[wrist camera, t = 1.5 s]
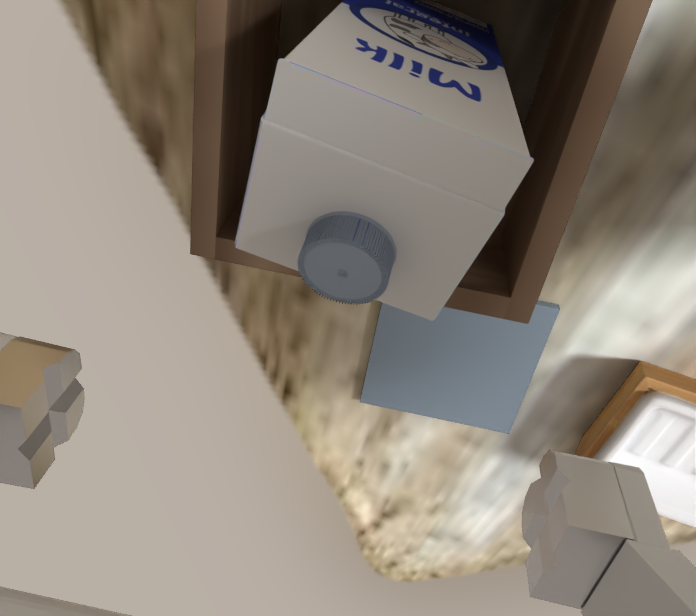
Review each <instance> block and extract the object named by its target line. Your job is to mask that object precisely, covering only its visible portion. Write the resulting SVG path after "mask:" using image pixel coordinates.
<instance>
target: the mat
mask: <svg viewBox="0 0 696 616" xmlns="http://www.w3.org/2000/svg"><path fill="white" fill-rule="evenodd" d="M559 310H560V307H559V305H556V304H552V303H547V302H542V301H537V303H536V306H535V308H534V311H533V313H532V316H531V319H530V321H529V324H525V323H520V322H515V321H510V320H506V319H501V318H496V317H491V316H486V315H481V314H477V313H472V312H467V311H462V310H457V309H452V308H448V307H443V308H442V310H441V311H440V313H439V314H438V316H437V317H436V319H435V320H433V321H431V320H428V319H425V318H423V317H420V316H417V315H415V314H412V313H409V312H406V311H404V310H401V309H398V308H396V307H393V306H390V305H388V304H385V303H382V304H381V309H380V313H379V318H378V322H377V327H376V331H375V336H374V340H373V345H372V349H371V354H370V358H369V362H368V367H367V371H366V376H365V380H364V385H363V389H362V394H361V398H360V402H362V403H366V404H371V405H376V406H380V407H385V408H390V409H395V410H399V411H404V412H409V413H413V414H418V415H423V416H428V417H432V418H437V419H442V420H446V421H451V422H456V423H460V424H465V425H470V426H475V427H479V428H484V429H489V430H493V431H498V432H503V433H508V434H509V432H510V430H511V427H512V425H513V422H514V420H515V418H516V415H517V413H518V410H519V408H520V405H521V403H522V400H523V398H524V396H525V393H526V391H527V388H528V386H529V383H530V381H531V379H532V376H533V374H534V371H535V369H536V366H537V364H538V362H539V359H540V357H541V354H542V352H543V349H544V347H545V344H546V342H547V340H548V337H549V335H550V332H551V330H552V327H553V325H554V323H555V320H556V318H557V315H558V313H559Z"/></svg>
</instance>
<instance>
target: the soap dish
mask: <svg viewBox="0 0 696 616" xmlns="http://www.w3.org/2000/svg"><path fill="white" fill-rule="evenodd" d="M575 455H577V456H582V457H587V458H592V459H597V460H602V461H606V462H614V463H619V464H624V465H629V466H635V467H639V468H640V469H641V470H642V471H643V472H644V475H645V478H646V480H647V483H648V486H649V489H650V492H651V495H652V498H653V501H654V503H655V506H656V509H657V512H658V515H661V516H664V517H666V518H670V519H672V520H675V521H678V522H681V523H684V524H687V525H690V526H692V527H695V528H696V380H695V379H692V378H689V377H687V376H684V375H681V374H678V373H675V372H672V371H669V370H666V369H663V368H661V367H658V366H655V365H652V364H649V363H646V362H643V361H640V362H639V363H638V365H637V366H636V367H635V368H634V370H633V371H632V372H631V374H630V375H629V376H628V378H627V379H626V380H625V382H624V383H623V384H622V386H621V387H620V388H619V390H618V391H617V392H616V394H615V395H614V396H613V397H612V399H611V400H610V401H609V403H608V404H607V405H606V407H605V408H604V409H603V411H602V412H601V413H600V415H599V416H598V417H597V419H596V420H595V421H594V423H593V424H592V425H591V427H590V428H589V429H588V431H587V432H586V433H585V434H584V435H583V437H582V439H581V440H580V443H579V445H578V448H577V450H576V453H575Z"/></svg>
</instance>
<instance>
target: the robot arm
mask: <svg viewBox="0 0 696 616" xmlns="http://www.w3.org/2000/svg"><path fill="white" fill-rule="evenodd" d="M81 369H82V366H81V359H80V353H78V352H77V351H76V350H74V349H70V348H66V347H62V346H58V345H53V344H49V343H45V342H41V341H36V340H32V339H28V338H24V337H16V336H12V335H8V334H4V333H0V483H5V484H10V485H15V486H21V487H26V488H31V489H35V487H36V486H37V484H38V483H39V481H40V480H41V479H42V477H43V476H44V474H45V473H46V471H47V470H48V468H49V467H50V466H51V464H52V463H53V462H54V460H55V454H54V447H56V446H58V445H60V444H62V443H64V442H66V441H68V440H69V439H70V437H71V436H72V434H73V433H74V431H75V430H76V428H77V426H78V423H79V421H80V418H81V415H82V413H83V406H84V388H83V387H82V386H81V384H80V383H79V382H78V381H77V379H76V378H75V377H76V375H77V374H78V373H79V372H80V370H81ZM539 467H540V474H541V478H540V479H538V480H537V481H535V482H533V483H531V485H530V487H529V489H528V492H527V494H526V497H525V501H524V506H523V511H522V532H523V539H524V540H525V541H526V542H527V544H528V545H529V546H530V548H531V551H530V553H529V555H528V557H527V559H526V568H527V576H528V584H529V592H530V597H533V598H537V599H541V600H545V601H549V602H553V603H557V604H561V605H566V606H569V607H573V608H578V609H582V611H581V613H582V614H583V616H696V567H695V566H694V565H693V564H692V563H691V562H690V561H689V560H688V559H687V558H686V557H685V556H684V555H683V554H682V553H681V552H680V551H677V550H674V549H670V547H669V544H668V541H667V538H666V535H665V532H664V529H663V527H662V524H661V521H660V518H659V515H658V512H657V509H656V506H655V503H654V501H653V498H652V495H651V492H650V489H649V486H648V483H647V480H646V478H645V475H644V472H643V471H642V470H641V469H640V468H639V467H635V466H629V465H624V464H619V463H614V462H606V461H602V460H597V459H592V458H587V457H582V456H577V455H572V454H567V453H562V452H558V451H553V450H549V451H548V452H547V453H546V454H545V455H544V457H543V459H542V461H541V463H540V465H539ZM0 616H131V615H126V614H121V613H117V612H113V611H108V610H103V609H99V608H95V607H90V606H86V605H81V604H77V603H72V602H68V601H63V600H59V599H54V598H50V597H45V596H41V595H36V594H31V593H27V592H22V591H18V590H13V589H9V588H4V587H0Z"/></svg>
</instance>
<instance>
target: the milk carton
mask: <svg viewBox="0 0 696 616" xmlns="http://www.w3.org/2000/svg"><path fill="white" fill-rule="evenodd" d="M533 162H534V159H533V158H532V157H530V155H529V151H528V148H527V144H526V141H525V137H524V134H523V131H522V127H521V124H520V120H519V117H518V113H517V110H516V107H515V103H514V100H513V96H512V93H511V89H510V86H509V83H508V79H507V76H506V72H505V69H504V65H503V62H502V59H501V55H500V52H499V48H498V45H497V42H496V38H495V35H494V31H493V28H492V25H491V24H488V23H486V22H484V21H481V20H479V19H476V18H474V17H471V16H469V15H467V14H464V13H462V12H459V11H457V10H454V9H452V8H449V7H447V6H445V5H442V4H440V3H437V2H435V1H432V0H343V1H342V2H341V3H340V4H339V5H338V6H337V7H336V8H335V9H334V10H333V11H332V12H331V13H330V14H329V15H328V16H327V17H326V18H325V19H324V20H323V21H322V22H321V23H320V24H319V25H318V26H317V27H316V28H315V29H314V30H313V31H312V32H311V33H310V34H309V35H308V36H307V37H306V38H305V39H304V40H303V41H302V42H301V43H299V44H298V45H297V46H296V47H295V48H294V49H293V50H292V51H291V52H290V53H289V54H288V55H287V56H286V57H285V58H284V59H282V58H280V59H279V60H278V63H277V67H276V71H275V76H274V80H273V84H272V89H271V93H270V97H269V101H268V106H267V109H266V111H265V112H264V114H263V116H262V117H261V121H260V126H259V130H258V135H257V140H256V145H255V149H254V154H253V159H252V163H251V168H250V173H249V178H248V182H247V187H246V192H245V197H244V201H243V206H242V211H241V216H240V220H239V225H238V230H237V235H236V239H235V247H236V248H237V249H240V250H243V251H246V252H248V253H251V254H254V255H256V256H259V257H262V258H264V259H267V260H270V261H272V262H275V263H278V264H280V265H283V266H286V267H288V268H291V269H294V270H296V271H299V273H301V274H300V276H302V277H301V278H303V280H305V281H304V282H306V284H308V286H310V288H312V290H314V292H315V291H317V293H319V295H320V294H322V296H323V295H324V296H325V297H328V298H330V301H331V299H333V301H334V300H336V302H337V301H339V303H340V302H342V304H343V302H345V304H346V303H348V304H349V303H350V304H352V303H353V304H355V303H356V305H357V304H358V303H359V304H360V303H362V304H363V302H364V303H366V302H367V303H368V302H371V300H372V301H373V299H374V300H377V301H380V302H382V303H385V304H388V305H390V306H393V307H396V308H398V309H401V310H404V311H406V312H409V313H412V314H415V315H417V316H420V317H423V318H425V319H428V320H431V321H433V320H435V319H436V317H437V316H438V314H439V313H440V311H441V310H442V308H443V307H444V305H445V304H446V302H447V301H448V299H449V298H450V296H451V295H452V293H453V292H454V290H455V289H456V287H457V286H458V284H459V283H460V281H461V280H462V278H463V277H464V275H465V274H466V272H467V271H468V269H469V268H470V266H471V264H472V263H473V261H474V260H475V258H476V257H477V255H478V254H479V252H480V251H481V249H482V248H483V246H484V245H485V243H486V242H487V240H488V239H489V237H490V236H491V234H492V233H493V231H494V230H495V228H496V227H497V225H498V224H499V222H500V221H501V219H502V218H503V216H504V214H505V207H506V206H507V204H508V202H509V201H510V199H511V197H512V196H513V194H514V193H515V191H516V189H517V188H518V186H519V184H520V183H521V181H522V180H523V178H524V176H525V175H526V173H527V172H528V170H529V168H530V167H531V165H532V163H533ZM325 297H324V298H325ZM328 298H327V299H328Z"/></svg>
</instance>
